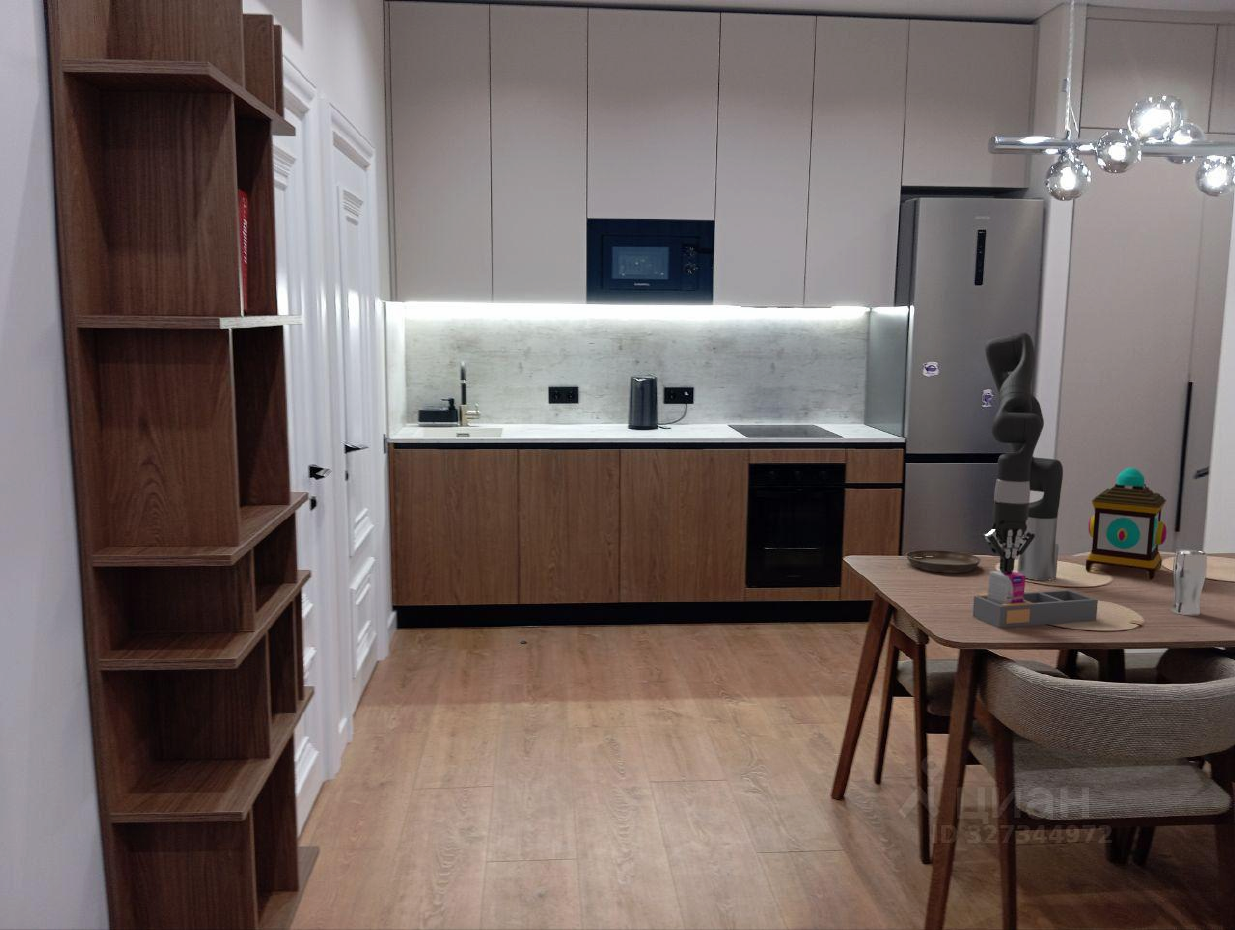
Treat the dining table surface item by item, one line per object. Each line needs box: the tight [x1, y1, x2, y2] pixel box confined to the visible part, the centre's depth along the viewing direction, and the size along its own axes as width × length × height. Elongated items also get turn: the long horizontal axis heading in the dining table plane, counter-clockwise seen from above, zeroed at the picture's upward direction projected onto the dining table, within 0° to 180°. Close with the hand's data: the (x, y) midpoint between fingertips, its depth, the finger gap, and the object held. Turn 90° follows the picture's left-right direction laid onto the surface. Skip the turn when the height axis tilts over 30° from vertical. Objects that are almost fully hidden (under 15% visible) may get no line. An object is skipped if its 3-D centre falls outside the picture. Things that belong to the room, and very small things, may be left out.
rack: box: [972, 589, 1099, 629], centre depth 230 cm, size 27×10×5 cm, turn 106°
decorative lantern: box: [1085, 467, 1168, 581], centre depth 280 cm, size 20×20×30 cm
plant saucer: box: [905, 549, 982, 574], centre depth 283 cm, size 21×21×3 cm
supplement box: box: [987, 570, 1026, 605], centre depth 228 cm, size 6×6×12 cm
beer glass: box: [1171, 548, 1208, 617], centre depth 237 cm, size 7×7×15 cm
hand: (1006, 573), depth 227 cm, fingers closed
